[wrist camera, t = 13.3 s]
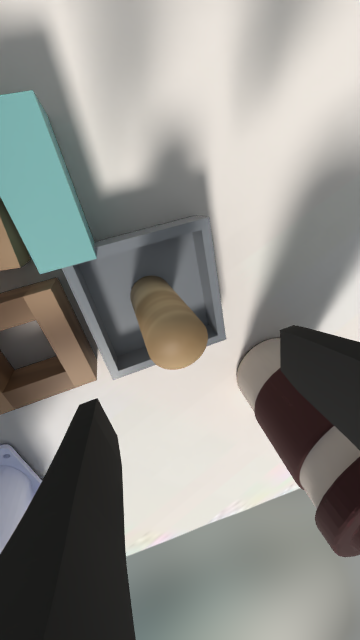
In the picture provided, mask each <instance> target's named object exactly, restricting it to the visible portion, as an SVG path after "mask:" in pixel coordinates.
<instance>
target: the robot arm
mask: <svg viewBox="0 0 360 640" xmlns="http://www.w3.org/2000/svg"><path fill="white" fill-rule="evenodd" d="M280 370H281V371H282V373H283V374H284V375H285V376H286V378H287V379H288V380H289V382H290V383H291V384H292V385H293V386H294V387H295V389H296V390H297V391H298V392H299V393H300V394H301V395H302V396H303V397H304V398H305V399H306V400H307V401H308V402H310V403H311V404H312V405H313V406H314V407H315V408H316V409H317V410H318V411H319V412H320V413H321V414H322V415H323V416H324V417H325V418H326V419H327V420H329V421H330V422H331V423H332V424H333V425H334V426H335V427H336V428H337V429H338V430H339V431H340V432H341V433H342V434H343V435H344V436H346V437H347V438H348V439H349V440H350V441H351V442H352V443H353V444H354V445H355V446H356V447H357V449H358V450H359V451H360V342H357V341H353V340H349V339H346V338H342V337H338V336H335V335H331V334H327V333H323V332H320V331H316V330H312V329H308V328H304V327H300V326H295V325H293V326H290V327H288V328H285V329H282V330H280ZM0 640H136V639H135V632H134V625H133V616H132V608H131V600H130V592H129V583H128V574H127V567H126V553H125V535H124V508H123V482H122V464H121V457H120V450H119V444H118V437H117V434H116V433H115V431H114V429H113V427H112V425H111V423H110V421H109V419H108V417H107V416H106V414H105V412H104V410H103V408H102V406H101V404H100V402H99V400H98V399H94V400H91V401H89V402H86V403H83V404H81V405H79V407H78V409H77V411H76V413H75V415H74V417H73V419H72V421H71V423H70V426H69V428H68V430H67V432H66V434H65V436H64V438H63V440H62V443H61V445H60V447H59V449H58V451H57V453H56V455H55V457H54V459H53V461H52V463H51V465H50V467H49V469H48V471H47V473H46V475H45V477H44V479H43V480H41V479H40V478H39V477H38V476H37V474H36V473H35V472H34V471H33V470H32V469H31V468H30V467H29V466H28V464H27V463H26V462H25V461H24V460H23V459H22V458H21V457H20V456H19V454H18V453H17V452H16V451H15V450H14V449H13V448H12V447H11V446H10V445H7V444H4V445H0Z"/></svg>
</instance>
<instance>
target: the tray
mask: <svg viewBox="0 0 360 640" xmlns="http://www.w3.org/2000/svg"><path fill="white" fill-rule="evenodd" d="M94 251H95V254H96V256H97V259H94V260H90V261H86V262H83V263H79V264H75V265H72V266H68V267H65V268H62V271H63V273H64V275H65V277H66V279H67V281H68V284H69V286H70V288H71V290H72V292H73V294H74V297H75V299H76V301H77V303H78V305H79V307H80V310H81V312H82V314H83V316H84V318H85V320H86V323H87V325H88V327H89V329H90V331H91V333H92V336H93V338H94V340H95V342H96V344H97V346H98V349H99V351H100V353H101V355H102V357H103V359H104V362H105V364H106V366H107V368H108V370H109V372H110V375H111V377H112V379H113V380H115V379H118V378H121V377H123V376H126V375H129V374H132V373H134V372H137V371H140V370H143V369H145V368H148V367H151V366H154V365H156V364H155V363H154V362H153V361H152V360H151V358H150V357H149V354H148V351H147V348H146V345H145V342H144V339H143V336H142V333H141V330H140V327H139V324H138V321H137V318H136V315H135V312H134V309H133V306H132V303H131V299H130V293H131V289H132V287H133V285H134V284H135V283H136V282H137V281H138V280H139V279H141V278H143V277H145V276H158V277H161V278H162V279H164V280H165V281H166V282H167V283H168V284H169V285H170V287H171V288H172V289H173V290H174V291H175V292H176V293H177V294H178V296H179V297H180V298H181V299H182V300H183V301H184V302H185V303H186V305H187V306H188V307H189V308H190V309H191V310H192V311H193V312H194V314H195V315H196V316H197V317H198V318H199V319H200V320H201V321H202V323H203V324H204V325H205V327H206V329H207V333H208V342H207V346H209V345H211V344H214V343H217V342H220V341H222V340H225V339H226V335H225V328H224V321H223V313H222V306H221V299H220V292H219V284H218V277H217V270H216V263H215V256H214V248H213V241H212V234H211V227H210V219H209V217H204V216H191V217H187V218H184V219H180V220H176V221H172V222H168V223H165V224H161V225H157V226H153V227H150V228H146V229H142V230H138V231H134V232H131V233H127V234H123V235H119V236H115V237H112V238H108V239H104V240H100V241H97V242H94Z"/></svg>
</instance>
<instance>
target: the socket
mask: <svg viewBox="0 0 360 640" xmlns="http://www.w3.org/2000/svg"><path fill="white" fill-rule="evenodd" d="M34 320H36V321H37V322H38V324H39V326H40V327H41V329H42V331H43V333H44V334H45V336H46V338H47V340H48V341H49V343H50V345H51V347H52V348H53V350H54V352H55V353H56V355H57V356H55V357H52V358H49V359H46V360H43V361H40V362H37V363H34V364H31V365H28V366H25V367H22V368H19V369H16V370H14V369H13V368H12V366H11V365H10V363H9V362H8V361H7V359H6V358H5V356H4V355H3V354H2V352H1V351H0V415H1V414H4V413H6V412H9V411H12V410H15V409H18V408H20V407H23V406H26V405H29V404H31V403H34V402H37V401H40V400H43V399H45V398H48V397H51V396H54V395H57V394H59V393H62V392H65V391H68V390H70V389H73V388H76V387H79V386H82V385H84V384H87V383H90V382H93V381H96V380H97V359H96V357H95V355H94V353H93V351H92V349H91V346H90V344H89V342H88V340H87V338H86V336H85V334H84V332H83V330H82V328H81V326H80V324H79V321H78V319H77V317H76V315H75V313H74V311H73V309H72V307H71V305H70V303H69V301H68V298H67V296H66V294H65V292H64V290H63V288H62V286H61V284H60V282H59V280H58V278H53V279H50V280H46V281H42V282H39V283H35V284H32V285H28V286H25V287H21V288H18V289H14V290H10V291H7V292H3V293H0V331H2V330H5V329H8V328H12V327H15V326H18V325H21V324H25V323H28V322H31V321H34Z"/></svg>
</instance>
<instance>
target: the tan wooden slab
mask: <svg viewBox="0 0 360 640" xmlns="http://www.w3.org/2000/svg"><path fill="white" fill-rule="evenodd" d="M30 260H31V259H30V256H29V254H28V251H27V248H26V246H25V244H24V242H23V240H22V238H21V236H20V234H19V232H18V230H17V228H16V226H15V224H14V222H13V220H12V219H11V217H10V215H9V213H8V211H7V209H6V207H5V205H4V203H3V201H2V199H1V197H0V271H1V270H8V269H15V268H21V267H22V266H23V265H25V264H26V263H27V262H29V261H30Z"/></svg>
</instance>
